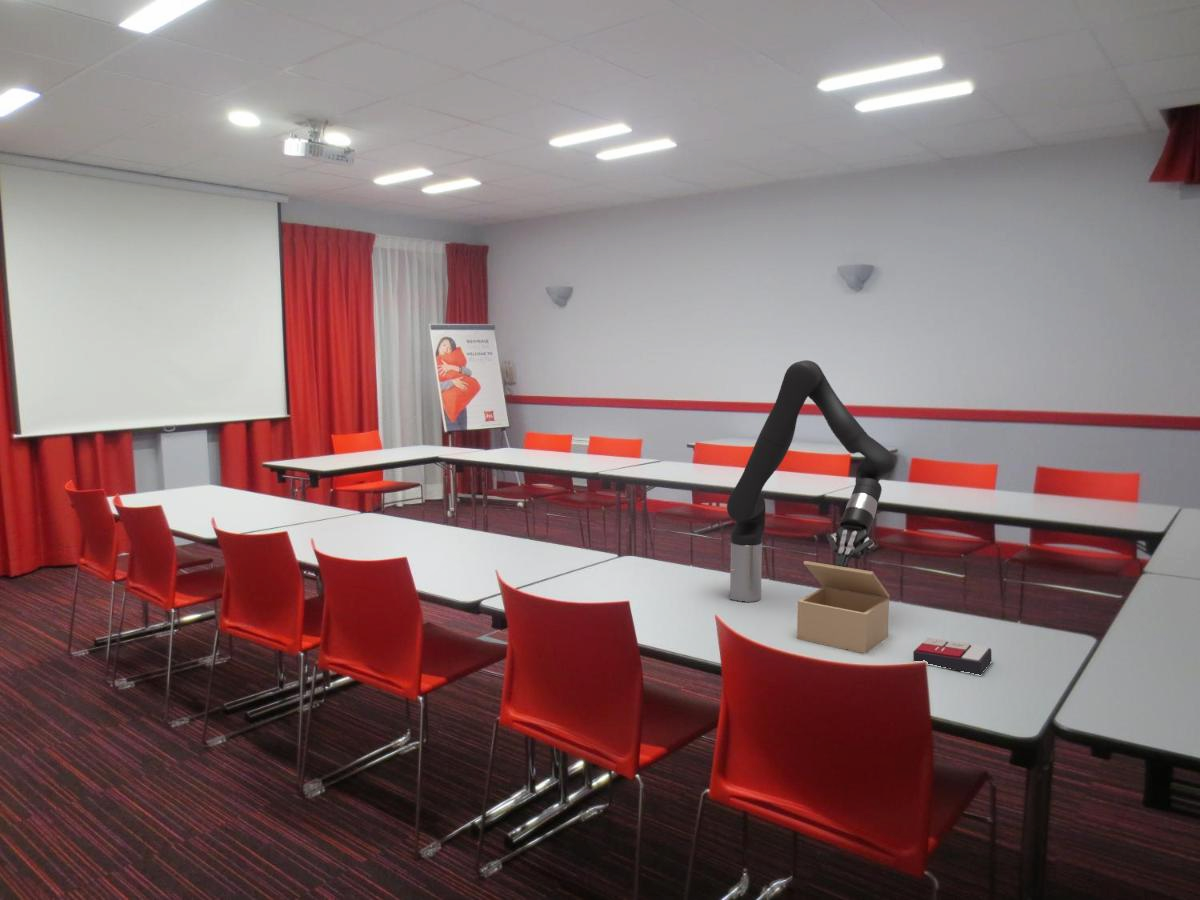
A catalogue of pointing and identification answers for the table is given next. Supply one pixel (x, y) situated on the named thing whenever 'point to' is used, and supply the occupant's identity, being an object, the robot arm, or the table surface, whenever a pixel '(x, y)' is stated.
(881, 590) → the lid
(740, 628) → the table surface
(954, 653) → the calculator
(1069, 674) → the table surface
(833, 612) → the box
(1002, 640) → the table surface
